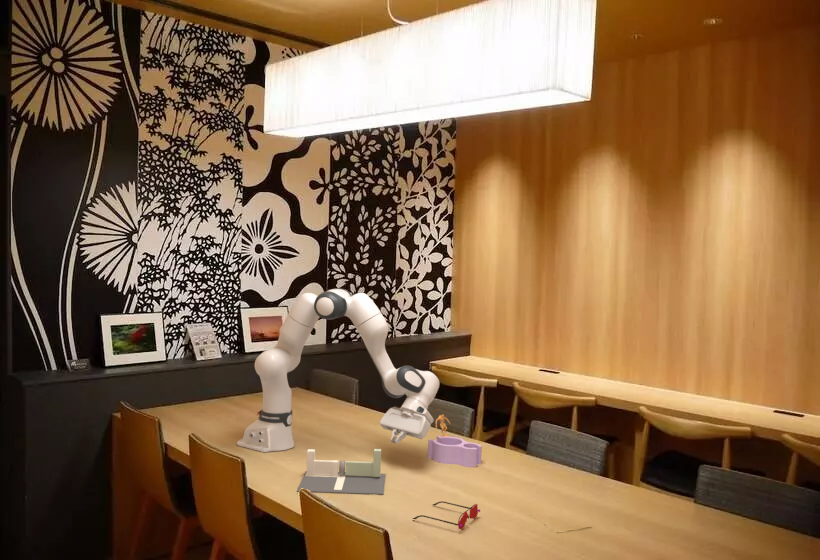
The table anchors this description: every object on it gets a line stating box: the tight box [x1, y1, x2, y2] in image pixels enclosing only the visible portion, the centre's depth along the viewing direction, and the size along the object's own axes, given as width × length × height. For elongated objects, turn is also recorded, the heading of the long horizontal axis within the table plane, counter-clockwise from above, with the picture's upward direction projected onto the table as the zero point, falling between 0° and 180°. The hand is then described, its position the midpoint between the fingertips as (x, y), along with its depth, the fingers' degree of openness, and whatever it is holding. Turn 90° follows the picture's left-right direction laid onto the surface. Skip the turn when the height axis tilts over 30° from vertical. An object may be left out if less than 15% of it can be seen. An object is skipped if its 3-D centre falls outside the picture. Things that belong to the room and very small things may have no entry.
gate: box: [338, 448, 382, 477], centre depth 231 cm, size 14×2×9 cm, turn 90°
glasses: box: [412, 501, 481, 530], centre depth 200 cm, size 14×16×5 cm
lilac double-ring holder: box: [427, 435, 483, 468], centre depth 255 cm, size 20×12×7 cm, turn 58°
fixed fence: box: [306, 448, 340, 477], centre depth 231 cm, size 11×2×9 cm, turn 90°
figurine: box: [435, 414, 451, 437], centre depth 275 cm, size 8×6×12 cm
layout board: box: [296, 470, 387, 496], centre depth 226 cm, size 28×19×1 cm
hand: (394, 442), depth 242 cm, fingers closed
